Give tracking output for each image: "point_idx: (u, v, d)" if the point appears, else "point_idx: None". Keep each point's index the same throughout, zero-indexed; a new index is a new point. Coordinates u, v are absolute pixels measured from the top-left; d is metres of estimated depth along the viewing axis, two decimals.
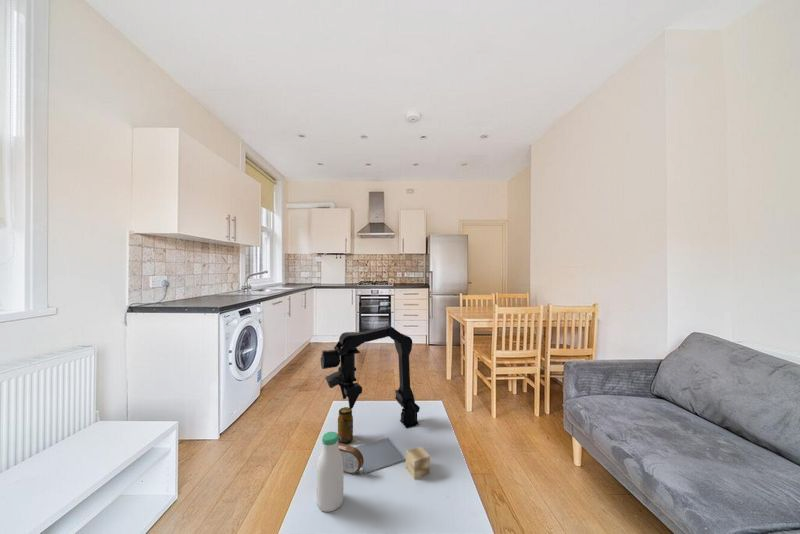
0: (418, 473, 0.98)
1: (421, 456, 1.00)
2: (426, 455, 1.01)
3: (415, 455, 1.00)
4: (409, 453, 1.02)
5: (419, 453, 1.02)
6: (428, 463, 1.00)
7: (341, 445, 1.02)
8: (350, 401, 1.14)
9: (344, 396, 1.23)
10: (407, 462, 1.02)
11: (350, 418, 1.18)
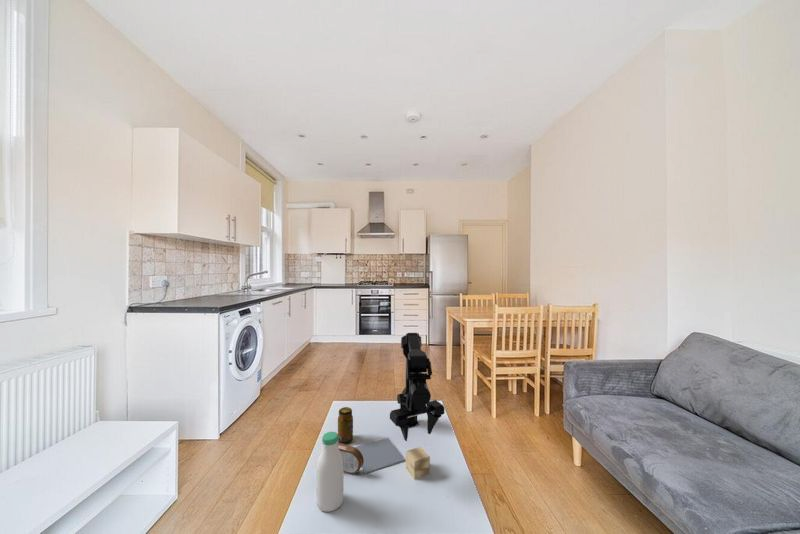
0: (418, 473, 0.98)
1: (421, 456, 1.00)
2: (426, 455, 1.01)
3: (415, 455, 1.00)
4: (409, 453, 1.02)
5: (419, 453, 1.02)
6: (428, 463, 1.00)
7: (341, 445, 1.02)
8: (402, 430, 0.99)
9: (428, 430, 1.04)
10: (407, 462, 1.02)
11: (350, 418, 1.18)
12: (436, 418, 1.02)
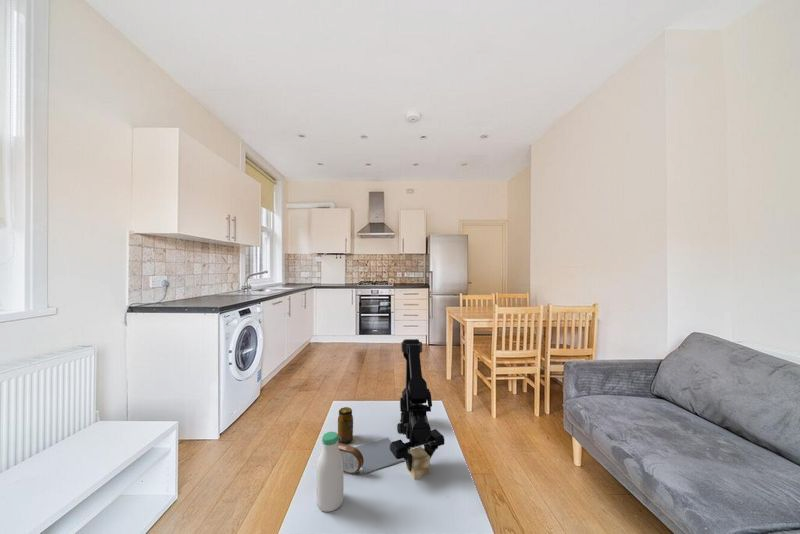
0: (418, 473, 0.98)
1: (421, 455, 1.00)
2: (426, 455, 1.01)
3: (415, 455, 1.00)
4: None
5: (419, 453, 1.02)
6: (428, 463, 1.00)
7: (341, 445, 1.02)
8: (406, 461, 1.00)
9: None
10: None
11: (350, 418, 1.18)
12: (433, 450, 1.01)
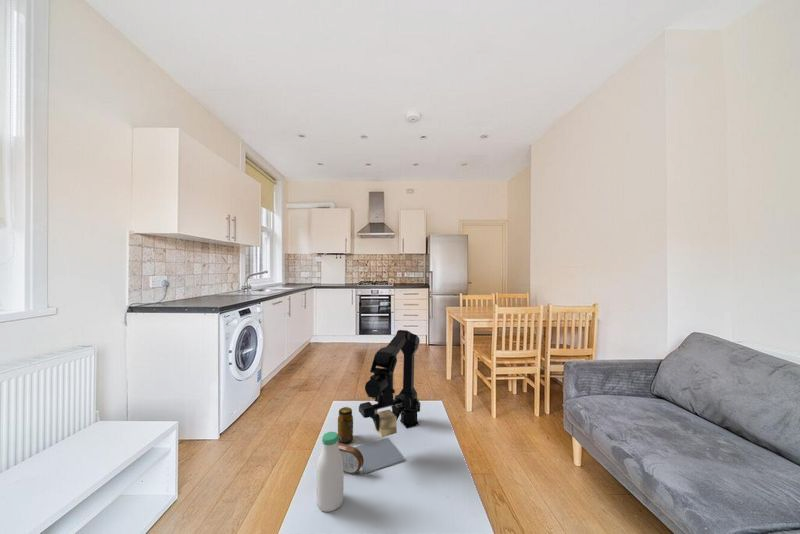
0: (385, 432, 1.05)
1: (388, 416, 1.07)
2: (393, 416, 1.07)
3: (383, 416, 1.07)
4: None
5: (386, 414, 1.08)
6: (395, 423, 1.07)
7: (341, 445, 1.02)
8: (374, 421, 1.07)
9: None
10: None
11: (350, 418, 1.18)
12: (399, 411, 1.08)
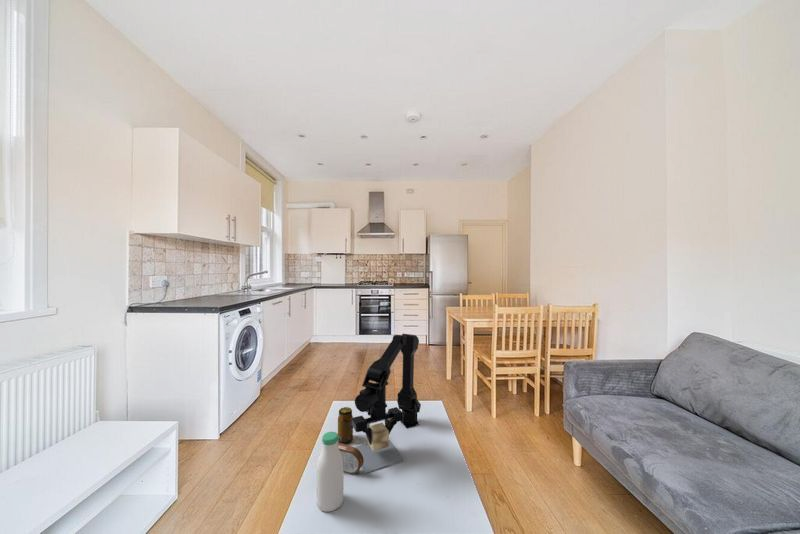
0: (377, 446, 1.07)
1: (380, 430, 1.09)
2: (385, 429, 1.09)
3: (375, 430, 1.09)
4: None
5: (379, 428, 1.10)
6: (387, 437, 1.09)
7: (341, 445, 1.02)
8: (366, 435, 1.09)
9: None
10: None
11: (350, 418, 1.18)
12: (391, 425, 1.10)
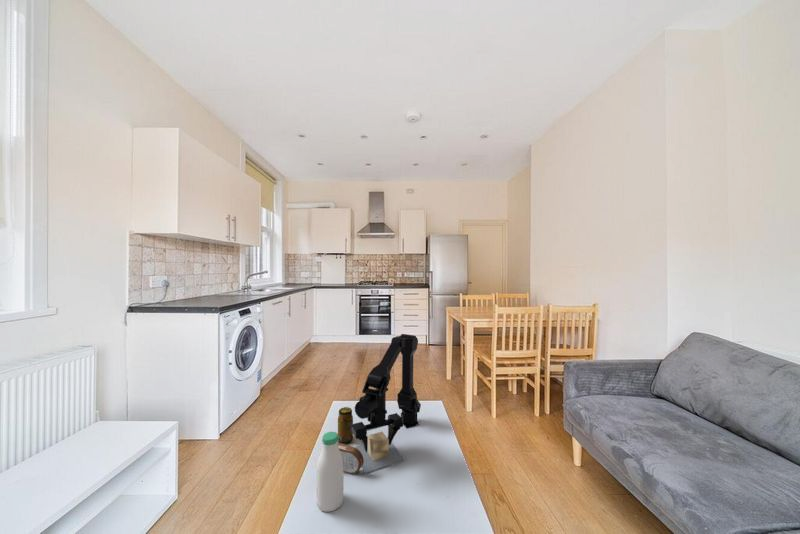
0: (377, 455, 1.07)
1: (380, 439, 1.09)
2: (385, 439, 1.09)
3: (375, 439, 1.09)
4: (370, 437, 1.10)
5: (379, 437, 1.10)
6: (387, 446, 1.09)
7: (341, 445, 1.02)
8: (362, 442, 1.08)
9: None
10: (368, 445, 1.10)
11: (350, 418, 1.18)
12: (395, 430, 1.10)
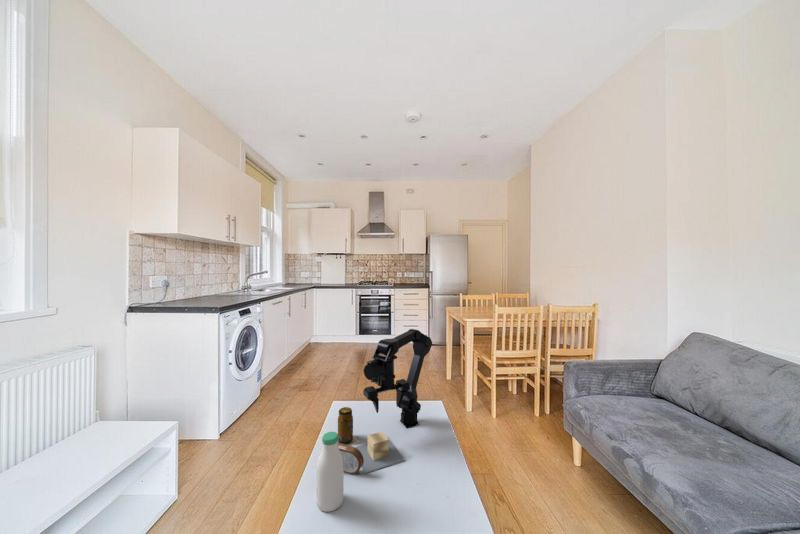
0: (377, 455, 1.07)
1: (380, 439, 1.09)
2: (385, 439, 1.09)
3: (375, 439, 1.09)
4: (370, 437, 1.10)
5: (379, 437, 1.10)
6: (387, 446, 1.09)
7: (341, 445, 1.02)
8: (374, 404, 1.19)
9: (397, 404, 1.23)
10: (368, 445, 1.10)
11: (350, 418, 1.18)
12: (403, 393, 1.21)
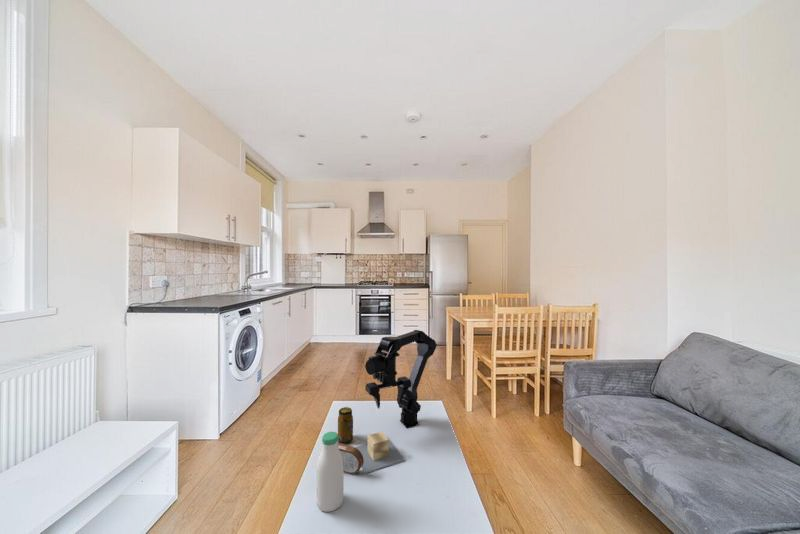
0: (377, 455, 1.07)
1: (380, 439, 1.09)
2: (385, 439, 1.09)
3: (375, 439, 1.09)
4: (370, 437, 1.10)
5: (379, 437, 1.10)
6: (387, 446, 1.09)
7: (341, 445, 1.02)
8: (375, 400, 1.21)
9: (398, 400, 1.25)
10: (368, 445, 1.10)
11: (350, 418, 1.18)
12: (404, 390, 1.23)
